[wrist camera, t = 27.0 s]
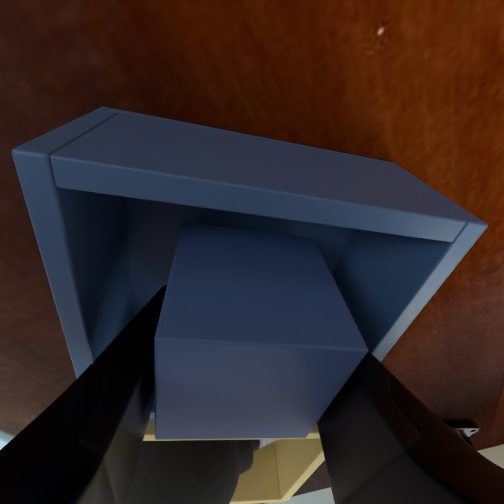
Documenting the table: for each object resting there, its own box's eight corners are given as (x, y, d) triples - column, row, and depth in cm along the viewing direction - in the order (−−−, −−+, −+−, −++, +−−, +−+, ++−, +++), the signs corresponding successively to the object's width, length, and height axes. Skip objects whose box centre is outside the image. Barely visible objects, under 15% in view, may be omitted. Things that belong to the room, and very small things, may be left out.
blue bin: (394, 162, 10) (489, 224, 6) (309, 334, 15) (335, 420, 12) (101, 105, 8) (7, 148, 5) (122, 323, 14) (87, 420, 10)
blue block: (314, 237, 10) (370, 350, 6) (281, 322, 12) (306, 439, 9) (182, 220, 9) (154, 339, 5) (176, 315, 11) (154, 440, 8)
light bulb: (301, 496, 17) (124, 609, 12) (252, 408, 22) (112, 462, 17) (329, 428, 15) (122, 534, 10) (267, 345, 20) (108, 388, 15)
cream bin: (322, 350, 16) (349, 433, 13) (276, 430, 22) (287, 501, 19) (98, 338, 14) (56, 435, 11) (115, 431, 20) (92, 512, 17)
